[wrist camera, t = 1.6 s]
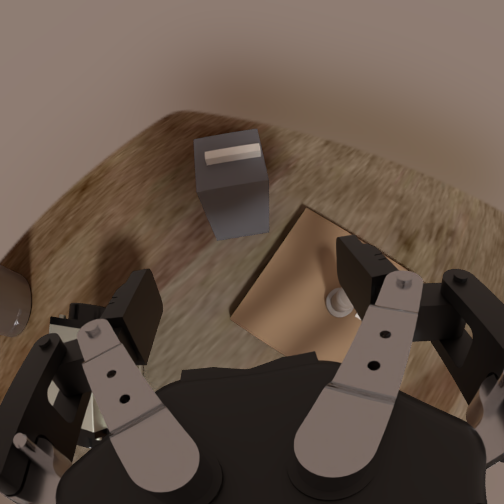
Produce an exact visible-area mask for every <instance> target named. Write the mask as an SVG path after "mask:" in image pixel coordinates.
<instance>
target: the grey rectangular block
mask: <svg viewBox="0 0 504 504" xmlns="http://www.w3.org/2000/svg"><path fill="white" fill-rule="evenodd" d="M194 160H195V177H196V192H197V194H198V197H199V199H200V202H201V204H202V206H203V209H204V211H205V213H206V216H207V218H208V220H209V223H210V225H211V227H212V230H213V232H214V234H215V236H216V239H217V241H218V240H224V239H230V238H236V237H242V236H249V235H255V234H261V233H267V232H269V179H268V174H267V170H266V165H265V161H264V156H263V152H262V148H261V143H260V139H259V135H258V131H257V129H252V130H245V131H238V132H232V133H226V134H220V135H215V136H209V137H204V138H199V139H194Z"/></svg>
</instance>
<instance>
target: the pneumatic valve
mask: <svg viewBox="0 0 504 504" xmlns="http://www.w3.org/2000/svg"><path fill="white" fill-rule="evenodd" d="M105 309H106V307H101V306H96V305H90V304H83V303H71V304H70V308H69V317H68V319H66V316H65V315H60V316H59V318H57V317H50V328H49V334H50V333H57V334H58V335H59V336H60V338H61V340H62V341H63V343H64V342H68V341H71V340H74V339H77V333H78V331H79V330H80V328H81V327H82V326H84V325H85V324H86V323H88V322H90V321H93V320H96V319H100V317H101V316H102V314H103V312H104V310H105ZM136 366H137V368H138V369H139V371H140V372H141V374H142V375H143V365H136ZM58 392H59V389H58V387H57V386H56V385H55V383H54V382H53V381H52V382H51V384H50V386H49V388H48V400H49V402H50V403H51V405H52V406H53V404H54V402H55V399H56V397H57V394H58ZM109 433H110V432H109V429H108V427H107V425H106V423H105V421H104V419H103V416H102V414H101V412H100V410H99V407H98V405H97V403H96V400H95V398H94V395H93V393H92V394H91V397H90V401H89V404H88V407H87V410H86V413H85V417H84V420H83V424H82V427H81V430H80V434H79V438H78V441H77V445H79V446H82V447H86V448H93V447H94V446H95V445H96V444H97V443H99V442H100V441H101V440H102V439H103V438H104V437H105V436H106V435H108V434H109Z"/></svg>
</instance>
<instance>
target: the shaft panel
mask: <svg viewBox="0 0 504 504" xmlns="http://www.w3.org/2000/svg"><path fill="white" fill-rule="evenodd" d="M347 235H351V234H350V233H348V232H347V231H345V230H343V229H342V228H340V227H338V226H337V225H335V224H333V223H332V222H330V221H328V220H327V219H325V218H323V217H321V216H320V215H318V214H316V213H315V212H313V211H311V210H309V209H308V208H306V209H305V210H304V212H303V213H302V215H301V216H300V218H299V219H298V221H297V222H296V224H295V225H294V227H293V228H292V230H291V231H290V232H289V234H288V235H287V237H286V238H285V240H284V241H283V243H282V244H281V246H280V247H279V249H278V250H277V251H276V253H275V254H274V256H273V257H272V259H271V260H270V262H269V263H268V265H267V266H266V267H265V269H264V270H263V272H262V273H261V275H260V276H259V278H258V279H257V280H256V282H255V283H254V285H253V286H252V288H251V289H250V290H249V292H248V293H247V295H246V296H245V298H244V299H243V300H242V302H241V303H240V305H239V306H238V308H237V309H236V310H235V312H234V313H233V315H232V316H231V317H230V320H232V321H233V322H234V323H236V324H237V325H239V326H240V327H242V328H243V329H245V330H246V331H248V332H249V333H251V334H252V335H254V336H255V337H257V338H258V339H260V340H261V341H263V342H264V343H266V344H267V345H269V346H270V347H272V348H274V349H275V350H277V351H278V352H280V353H281V354H283V355H285V356H286V357H287V356H292V355H298V354H303V353H308V352H313V351H315V352H316V355H317V358H318V360H326V361H335V362H340V363H342V362H343V360H344V358H345V356H346V354H347V352H348V350H349V348H350V346H351V344H352V342H353V340H354V338H355V335H356V333H357V331H358V329H359V327H360V325H361V323H362V321H361V319H360V317H359V316H358V314H357V312H356V310H355V309H354V307H353V305H352V304H351V302H350V300H349V299H348V297H347V295H346V293H345V292H344V290H343V288H342V287H341V285H340V283H339V280H338V276H337V261H336V239H337V237H341V236H347ZM359 240H360V239H359ZM360 241H361V240H360ZM361 242H362V243H363V244H366V243H364V242H363V241H361ZM384 256H385V255H384ZM385 257H386V256H385ZM386 258H387V259H388V260H389V261H390V262H391V263H392V264H393V265H394V266H395V267H396V268H397V269H398V270H399V271H400V270H404V271H408V270H406V269H405V268H403V267H402V266H400V265H399V264H397V263H396V262H394V261H393V260H391V259H390V258H388V257H386ZM423 283H425V282H424V281H423Z"/></svg>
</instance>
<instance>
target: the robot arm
mask: <svg viewBox="0 0 504 504" xmlns="http://www.w3.org/2000/svg"><path fill="white" fill-rule="evenodd" d="M336 261H337V276H338V280H339V283H340V285H341V287H342V288H343V290H344V292H345V293H346V295H347V297H348V299H349V300H350V302H351V304H352V305H353V307H354V309H355V310H356V312H357V314H358V316H359V317H360V319H361V321H362V323H361V325H360V327H359V329H358V331H357V333H356V335H355V338H354V340H353V342H352V344H351V346H350V348H349V350H348V352H347V354H346V356H345V358H344V360H343V362H342V363H340V362H335V361H326V360H318V358H317V355H316V352H315V351H313V352H308V353H303V354H298V355H292V356H287V357H282V358H279V359H276V360H274V361H271V362H268V363H265V364H262V365H260V366H257V367H254V368H251V369H231V368H217V367H210V368H201V369H190V370H182V374H181V380H179V381H175V382H173V383H170V384H168V385H166V386H164V387H162V388H161V389H159V390H157V391H156V392H154V391H153V390H152V388H151V387H150V385H149V384H148V382H147V381H146V380H145V378H144V377H143V375H142V374H141V372H140V371H139V369H138V368H137V366H136V365H147V361H148V358H149V355H150V351H151V348H152V345H153V341H154V338H155V335H156V332H157V328H158V325H159V322H160V319H161V316H162V312H163V304H162V300H161V297H160V294H159V291H158V288H157V285H156V283H155V280H154V277H153V274H152V272H151V270H150V269H143V270H138V271H133V272H132V273H131V275H130V277H129V278H128V280H127V282H126V283H125V284H123V285H122V286H121V287H120V288H118V289H117V290H116V292H115V293H114V295H113V297H112V299H111V300H110V302H109V304H108V305H107V307H106V309H105V310H104V312H103V314H102V316H101V317H100V319H96V320H93V321H90V322H88V323H86V324H85V325H84V326H82V327H81V328H80V330H79V331H78V333H77V339H74V340H71V341H68V342H64V343H63V341H62V340H61V338H60V336H59V335H58V334H57V333H50V334H47V335H45V336H43V337H41V338H40V339H39V340H37V341H36V343H35V344H34V345H33V347H32V349H31V350H30V352H29V354H28V355H27V357H26V359H25V360H24V362H23V364H22V366H21V367H20V369H19V371H18V373H17V374H16V376H15V378H14V380H13V382H12V384H11V386H10V387H9V389H8V391H7V393H6V395H5V397H4V399H3V401H2V403H1V405H0V493H1V494H2V495H4V496H5V497H7V498H8V499H10V500H12V501H13V502H15V503H16V504H487V499H486V489H485V474H486V469H488V468H489V467H491V466H493V465H494V464H496V463H497V462H499V461H500V462H504V304H503V303H502V302H501V301H500V300H499V299H498V298H497V297H496V296H495V295H494V294H493V293H492V292H491V291H490V290H489V289H488V288H487V287H486V286H485V285H484V284H482V283H481V282H480V281H479V280H478V279H477V278H476V277H475V276H474V275H473V274H471V273H470V272H467V271H465V270H461V269H451V270H448V271H446V272H445V273H444V274H443V278H442V283H423V279H422V278H421V277H420V276H419V275H418V274H416V273H414V272H411V271H404V270H400V271H399V270H398V269H397V268H396V267H395V266H394V265H393V264H392V263H391V262H390V261H389V260H388V259H387V258H386V257H385V256H384V255H383V254H382V253H381V252H380V251H379V250H378V249H377V248H376V247H374V246H372V245H369V244H367V243H366V244H363V243H362V242H361V241H360V240H359V239H358V238H357V237H356V236H355V235H347V236H341V237H337V239H336ZM30 310H31V292H30V287H29V285H28V282H27V280H26V279H25V277H23V276H22V275H21V274H19V273H16V272H14V271H12V270H10V269H8V268H6V267H4V266H2V265H0V335H4V336H9V337H15V336H17V335H19V334H20V333H21V332H22V331H23V329H24V328H25V326H26V324H27V322H28V319H29V315H30ZM466 323H467V324H468V325H469V326H470V328H471V330H472V333H473V339H472V338H471V337H470V335H469V334H468V333H467V331H466V330H465V329H464V328H465V325H466ZM416 341H431V343H432V344H433V346H434V348H435V349H436V351H437V352H438V354H439V356H440V357H441V359H442V360H443V362H444V364H445V365H446V367H447V369H448V370H449V372H450V374H451V375H452V377H453V379H454V380H455V382H456V384H457V386H458V387H459V389H460V391H461V393H462V394H463V396H464V398H465V400H466V402H467V404H468V405H469V406H468V408H467V411H466V420H467V422H465V421H463V420H462V419H460V418H457V417H455V416H453V415H451V414H448V413H446V412H444V411H442V410H440V409H437V408H435V407H433V406H431V405H429V404H427V403H425V402H422V401H420V400H418V399H416V398H414V397H412V396H410V395H408V394H406V393H404V392H402V391H400V390H399V388H400V385H401V381H402V378H403V375H404V371H405V368H406V364H407V360H408V356H409V352H410V348H411V344H412V342H416ZM52 381H53V382H54V383H55V385H56V386H57V387H58V389H59V392H58V394H57V397H56V399H55V402H54V404H53V406H52V405H51V403H50V402H49V400H48V396H47V392H48V388H49V386H50V384H51V382H52ZM92 393H93V395H94V398H95V400H96V403H97V405H98V407H99V410H100V412H101V414H102V416H103V419H104V421H105V423H106V425H107V427H108V429H109V432H110V433H109V434H108V435H106V436H105V437H104V438H103V439H102V440H101V441H100V442H99V443H97V444H96V445H95V446H94V447H93V448H92V449H91V450H89V451H88V452H87V453H86V454H85V455H84V456H82V457H81V458H80V459H79V460H78V461H77V462H75V463H74V464H73V465H72V461H73V457H74V453H75V449H76V445H77V441H78V438H79V434H80V430H81V427H82V424H83V420H84V417H85V413H86V410H87V407H88V404H89V401H90V397H91V394H92Z"/></svg>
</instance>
